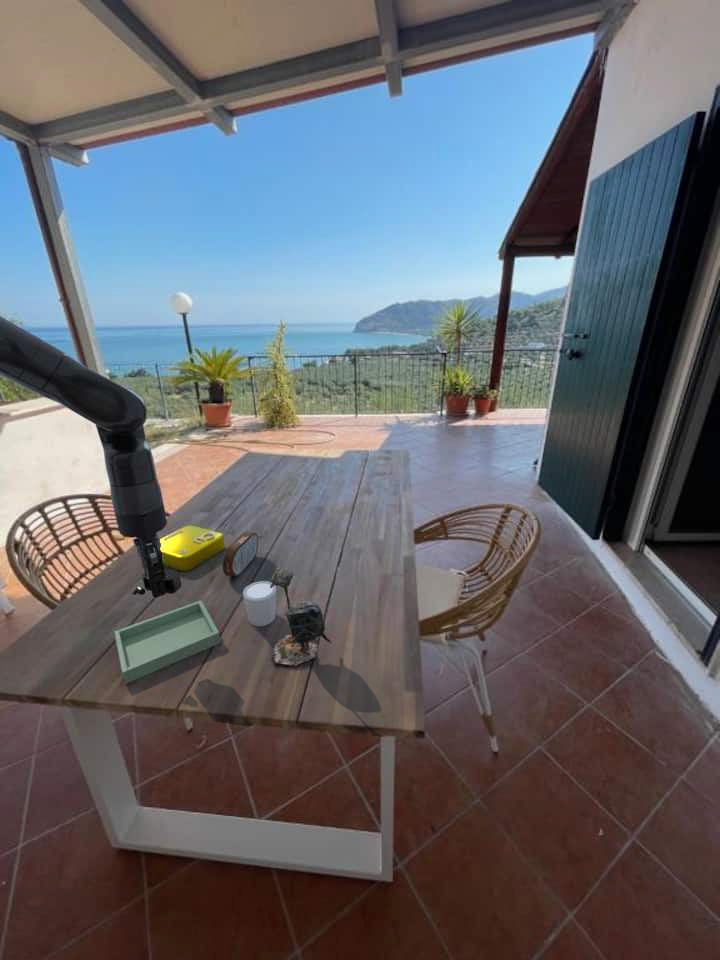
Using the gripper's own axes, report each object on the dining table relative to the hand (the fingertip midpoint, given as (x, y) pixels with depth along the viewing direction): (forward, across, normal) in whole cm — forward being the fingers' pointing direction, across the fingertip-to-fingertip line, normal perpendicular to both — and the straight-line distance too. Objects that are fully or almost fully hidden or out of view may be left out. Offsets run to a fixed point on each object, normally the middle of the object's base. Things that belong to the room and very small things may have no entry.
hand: (156, 586), depth 73 cm
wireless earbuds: (+1, 0, 0) cm, 1 cm away
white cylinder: (+13, +4, +18) cm, 23 cm away
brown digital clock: (+13, -18, +22) cm, 31 cm away
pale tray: (+13, 0, 0) cm, 13 cm away
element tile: (+13, -34, +12) cm, 38 cm away
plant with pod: (+13, +18, +20) cm, 30 cm away
